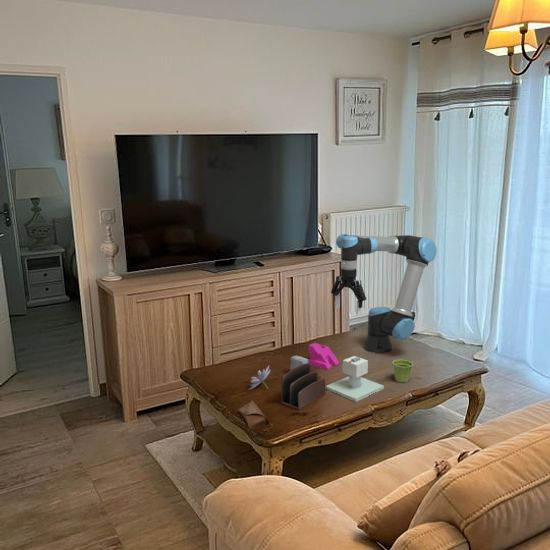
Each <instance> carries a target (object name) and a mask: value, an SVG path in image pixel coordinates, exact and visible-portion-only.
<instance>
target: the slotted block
mask: <svg viewBox="0 0 550 550" xmlns="http://www.w3.org/2000/svg"><path fill="white" fill-rule="evenodd" d="M355 357H357V355H353V356H351V357H347V358H345V359H343V360H342V373H343V374H345V375H348V376H349V375H350V376H353V377H356V378H357V377H359V376H361V377H362V376H364V375H366V374H368V370H369V368H368V367H369V366H368V365H369V360H367V359H365V358H362V357H359V358H360V360H359V361H357V362H353V361H351V359H353V358H355Z"/></svg>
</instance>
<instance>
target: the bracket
mask: <svg viewBox="0 0 550 550" xmlns="http://www.w3.org/2000/svg"><path fill="white" fill-rule="evenodd" d="M308 353H310V358H309V359H308V363H309V364H310V366H314V367H318V368H319V369H323V370H326V369H327V371H329V370H331V369H333V367H332V366H334V365H335V367H337V366H338V365H340V362H339V360H338V358H337V357H336V356H335V354H334V352H333V351H332V350H331V348H330V347H329V346H326V345H324V344H323V345H322V344H319V343H317V342H313V343H311V344H309V345H308ZM328 369H329V370H328Z"/></svg>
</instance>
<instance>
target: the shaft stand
mask: <svg viewBox="0 0 550 550" xmlns="http://www.w3.org/2000/svg"><path fill="white" fill-rule="evenodd" d="M360 358H361V357H359V356H356V357H355V358H353V359H351V361H353V362H357V361H359V360H360ZM326 389H327V390H326V391H328V390H329V392H331V393H333V392H334V393H333V394H336V393H337V394H336V395H338V394H339V395H338V396H340V395H341V396H340V397H343V398H345V397H346V399H347V398H348V400H350V401H353V402H355V403H356V402H358V401H361V400H363V399H366V398H367V397H369V395H370V396H371V394H372V395H374V394H376V393H378V392H380V391H382V390H384V389H385V385H383V384H380V383H378V382H376V381H373V380H370V379H368V378H365V377H362V376H359V377H357V378H356V377H353V376H350V375H348V376H347V377H346V376H345V377H343V378H342V379H340V380H337V381H334V382H332V383H329V384H328V385H326ZM375 392H376V393H375ZM373 393H374V394H373Z"/></svg>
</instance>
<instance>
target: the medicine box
mask: <svg viewBox="0 0 550 550" xmlns="http://www.w3.org/2000/svg"><path fill="white" fill-rule="evenodd" d="M306 363H309V359H308V358H305V357H303V356H300V355H293V356H292V357H290V370H292V369H294V368H296V367H298V366H300V365H303V364H306Z"/></svg>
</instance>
